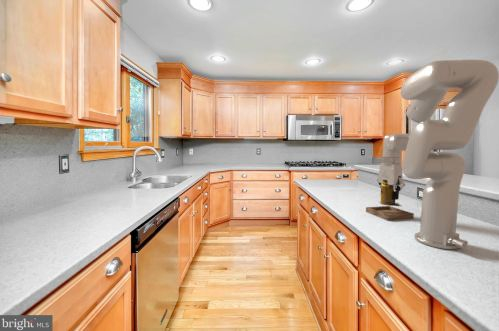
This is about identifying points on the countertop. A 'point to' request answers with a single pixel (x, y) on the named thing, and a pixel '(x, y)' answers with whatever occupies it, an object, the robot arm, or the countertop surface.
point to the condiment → (387, 195)
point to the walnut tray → (389, 213)
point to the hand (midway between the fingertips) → (389, 197)
